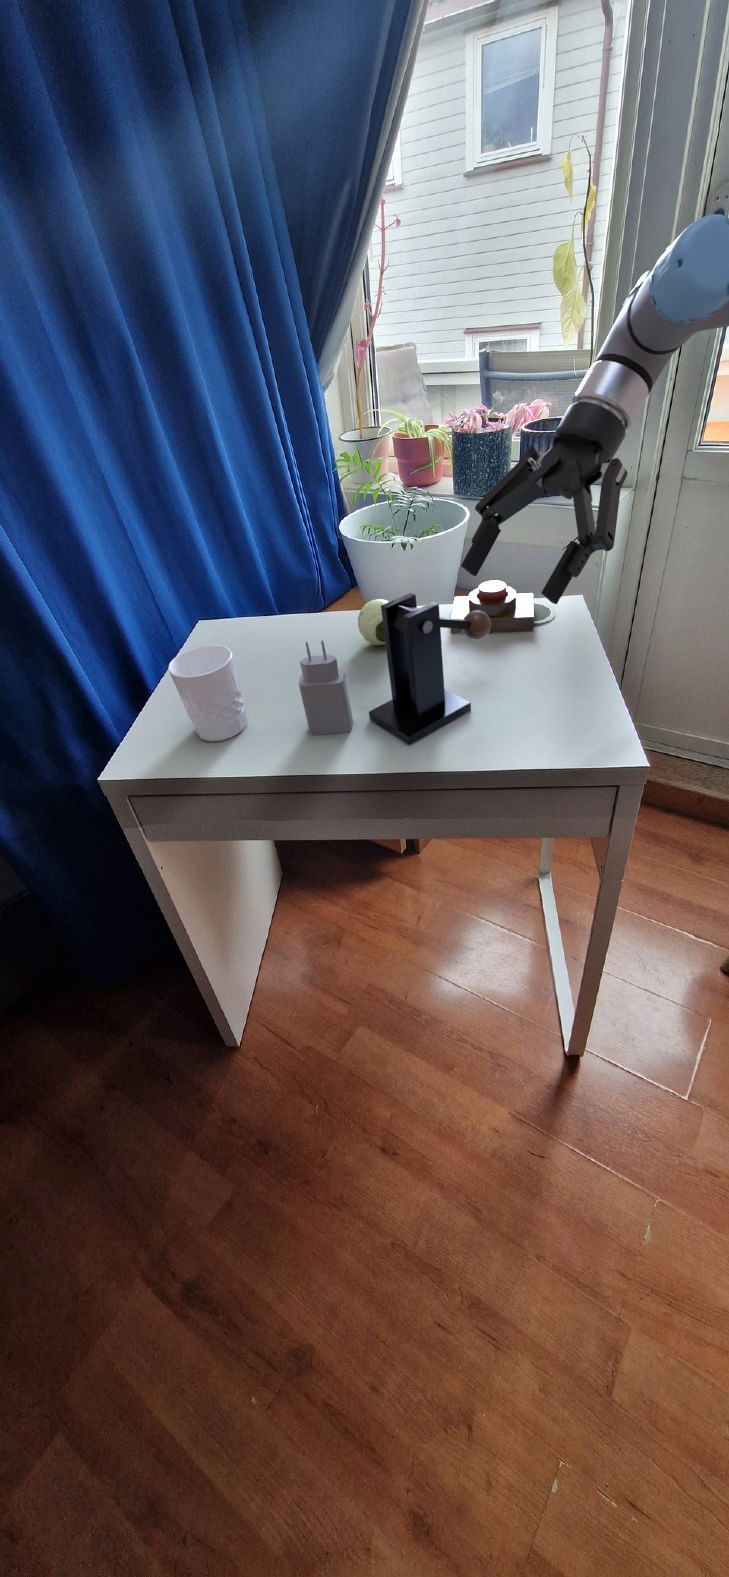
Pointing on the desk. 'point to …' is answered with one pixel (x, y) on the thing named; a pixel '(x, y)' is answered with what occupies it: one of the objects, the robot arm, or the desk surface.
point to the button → (492, 591)
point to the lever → (455, 622)
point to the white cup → (210, 691)
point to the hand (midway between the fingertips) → (506, 584)
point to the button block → (499, 611)
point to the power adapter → (325, 695)
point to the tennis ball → (372, 622)
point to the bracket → (416, 674)
